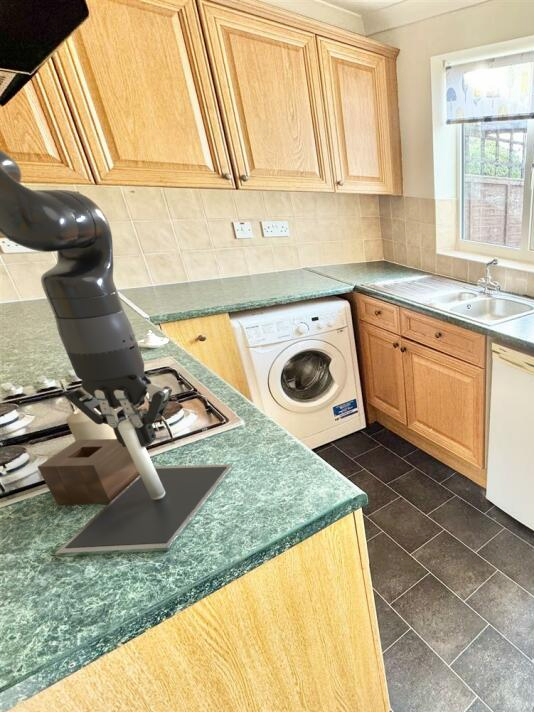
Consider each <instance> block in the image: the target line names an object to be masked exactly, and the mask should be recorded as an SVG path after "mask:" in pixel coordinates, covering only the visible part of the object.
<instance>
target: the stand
mask: <svg viewBox="0 0 534 712" xmlns="http://www.w3.org/2000/svg"><path fill="white" fill-rule="evenodd" d="M37 469H38V471H39V473H40V475H41V476H42V477H41V478H42V479H43V480H44V482H45V485H46V487H47V489H48V491H49V492H50V494H51V497H52V498H53V500H54V502H55V504H56V505H57V506H60V507H61V506H81V505H108V504H109V503H110V502H111V501H112V500H113V499H114V498H115V497H116V496H117V495H118V494H120V493H121V492H122V491H123V490H124V489H125V488H126V487H127V486H128V485H129V484H130V483H132V482H133V481H134V480H135V479H136V478H137V477H138V476H139V475H140V474H139V472H138V470H137V467H136V465H135V463H134V461H133V459H132V457H131V455H130V453H129V451H128V449H127V447H123V446H122V444H120V443H119V442H118V440H117V439H93V440H76V441H75V440H74V441H73V442H71V444H68V446H66V447H65V448H63V449H62V450H60V451H59V452H57V453H56V454H54V455H53V456H50V458H49V459H47V460H45V461H43V462H42V463H41V464H39V465H38V466H37Z"/></svg>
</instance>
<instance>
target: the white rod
mask: <svg viewBox="0 0 534 712" xmlns="http://www.w3.org/2000/svg"><path fill="white" fill-rule="evenodd" d="M134 428H135V426H134V424H133V422H132V420H131V419H127V420H124V421H121V422H120V423H119V424H118V430H119V432H120V434H121V436H122V438H123V440H124V442H125V444H126V447H127V449H128V451H129V453H130V455H131V457H132V459H133V461H134V463H135V465H136V467H137V470H138V472H139V474H140V476H141V478H142V480H143V482H144V484H145V486H146V488H147V491H148V493H149V495H150V497H151V498H152V499H155V500H158V499H161V498H163V497H164V495H165V490H164V488H163V486H162V483H161V481H160V479H159V477H158V475H157V472H156V470H155V468H154V463H153V461H152V459H151V457H150V454H149V453H148V451H147V447H142V446H141V445H140V442H139V440H138V437H137V434H136V431H135V429H134Z"/></svg>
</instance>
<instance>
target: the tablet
mask: <svg viewBox="0 0 534 712" xmlns="http://www.w3.org/2000/svg"><path fill="white" fill-rule="evenodd" d="M153 466H154V465H153ZM154 468H155V470H156V472H157V475H158V477H159V479H160V481H161V483H162V486H163V488H164V490H165V495H164V497H163V498H161V499H158V500H155V499H152V498H151V497H150V495H149V493H148V491H147V488H146V486H145V484H144V482H143V480H142V478H141V476H140V475H139V476H138V477H137V478H136V479H135V480H134V481H133V482H132V483H130V484H129V485H128V486H127V487H126V488H125V489H124V490H123V491H122V492H121V493H120V494H118V495H117V496H116V497H115V498H114V499H113V500H112V501H111V502H110V503H109V504H106V505H105V506H104V507H103V508H102V509H101V510H100V511H99V512H98V513H96V515H95V516H93V517H92V518H91V519H90V520H89V521H88V522H86V524H85V525H84V526H82V527H81V528H80V529H79V530H78V531H77V532H76V533H75V534H74V535H73V536H72V537H70V538H69V539H68V540H67V541H66V542H65V543H64V544H63V545H62V546H60V548H59V549H58V550H56V551H55V552H54V554H55V556H56V557H57V558H59V557H60V558H61V557H79V556H98V555H115V554H134V553H135V554H137V553H153V552H154V553H155V552H170V551H171V550H172V548H173V547H174V546H175V545H176V544H177V542H178V541H179V539H180V538H181V537H182V536H183V534H184V533H185V532H186V531H187V530H188V528H189V527H190V525H191V524H192V523H193V521H194V520H195V519H196V518H197V517H198V515H200V513H201V511H202V510H203V508H205V506H206V505H207V504H208V502H209V501H210V500H211V498H212V497H213V496H214V494H215V493H216V492H217V491H218V489H219V488H220V487H221V486H222V484H223V483H224V482H225V481H226V479H227V478H228V476H229V475H230V474H231V472H232V471H233V470H234V469H235V465H234V464H233V463H231V464H195V465H194V464H192V465H191V464H190V465H156V466H154Z"/></svg>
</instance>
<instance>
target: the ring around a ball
mask: <svg viewBox="0 0 534 712" xmlns="http://www.w3.org/2000/svg"><path fill="white" fill-rule="evenodd" d="M168 342H169V338H167V337H162V336H157V335H155V333H153V331H152V330H147V333H146V336H145V338H143V339H140V340H138V341H137V344H138V347H139V348H148V349H157V348H160V347H161V346H163V345H166V344H167V343H168Z"/></svg>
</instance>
